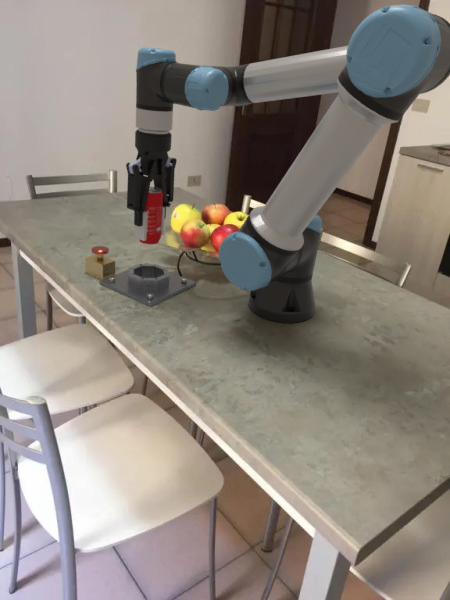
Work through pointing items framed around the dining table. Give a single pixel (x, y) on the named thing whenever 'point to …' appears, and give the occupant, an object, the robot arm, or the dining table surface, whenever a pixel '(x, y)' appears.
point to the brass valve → (100, 263)
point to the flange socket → (148, 283)
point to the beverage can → (153, 215)
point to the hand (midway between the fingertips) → (149, 235)
